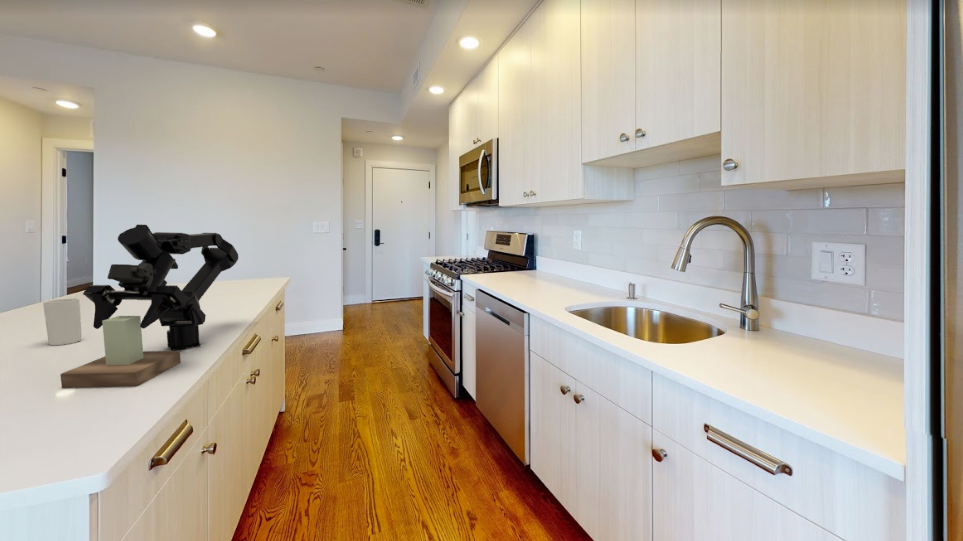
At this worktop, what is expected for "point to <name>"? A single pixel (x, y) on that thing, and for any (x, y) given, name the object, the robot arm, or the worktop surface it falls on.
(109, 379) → the base
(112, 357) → the block
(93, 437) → the worktop surface
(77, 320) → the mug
